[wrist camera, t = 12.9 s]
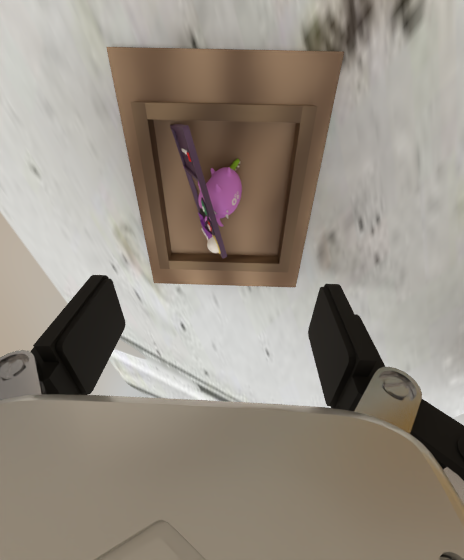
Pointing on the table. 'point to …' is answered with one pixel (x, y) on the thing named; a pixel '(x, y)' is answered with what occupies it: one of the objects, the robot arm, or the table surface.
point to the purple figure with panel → (209, 189)
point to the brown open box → (226, 154)
